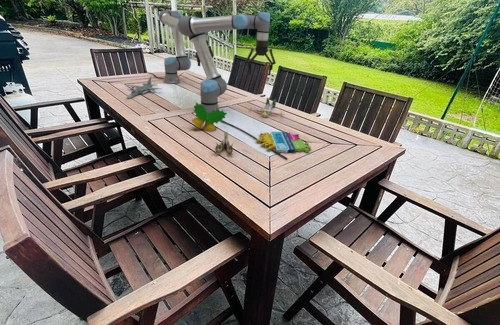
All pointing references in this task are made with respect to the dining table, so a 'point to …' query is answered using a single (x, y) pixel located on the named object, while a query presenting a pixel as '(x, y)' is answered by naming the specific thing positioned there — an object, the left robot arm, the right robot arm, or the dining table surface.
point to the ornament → (207, 117)
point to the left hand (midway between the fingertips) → (204, 65)
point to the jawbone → (224, 145)
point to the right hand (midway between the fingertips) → (259, 74)
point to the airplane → (142, 88)
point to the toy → (267, 109)
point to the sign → (283, 142)
